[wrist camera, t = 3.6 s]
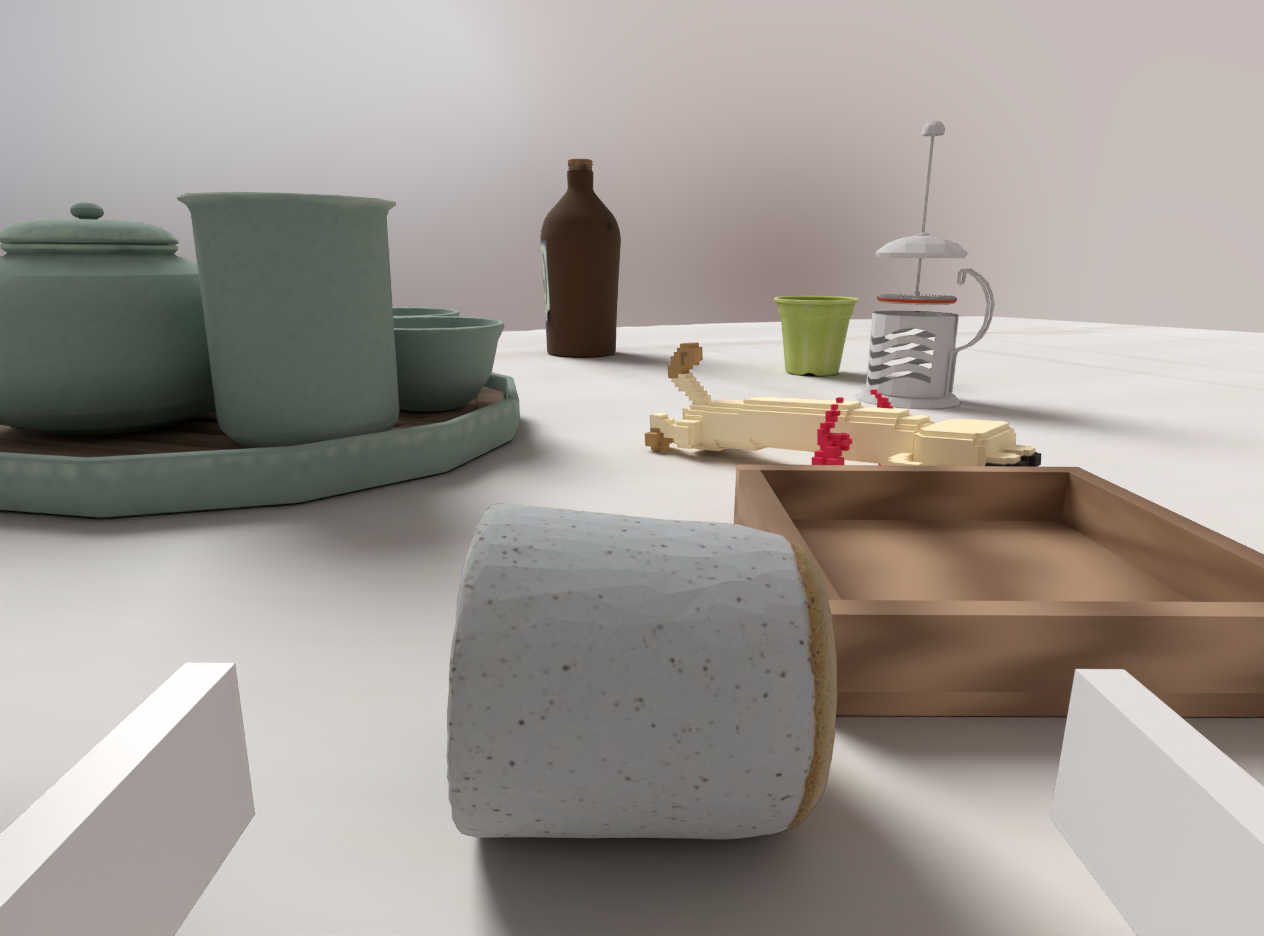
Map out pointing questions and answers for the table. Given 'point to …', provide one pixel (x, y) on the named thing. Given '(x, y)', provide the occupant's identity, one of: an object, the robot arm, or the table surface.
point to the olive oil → (580, 269)
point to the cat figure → (830, 428)
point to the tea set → (229, 362)
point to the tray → (1014, 588)
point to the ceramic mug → (637, 679)
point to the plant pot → (814, 332)
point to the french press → (919, 326)
